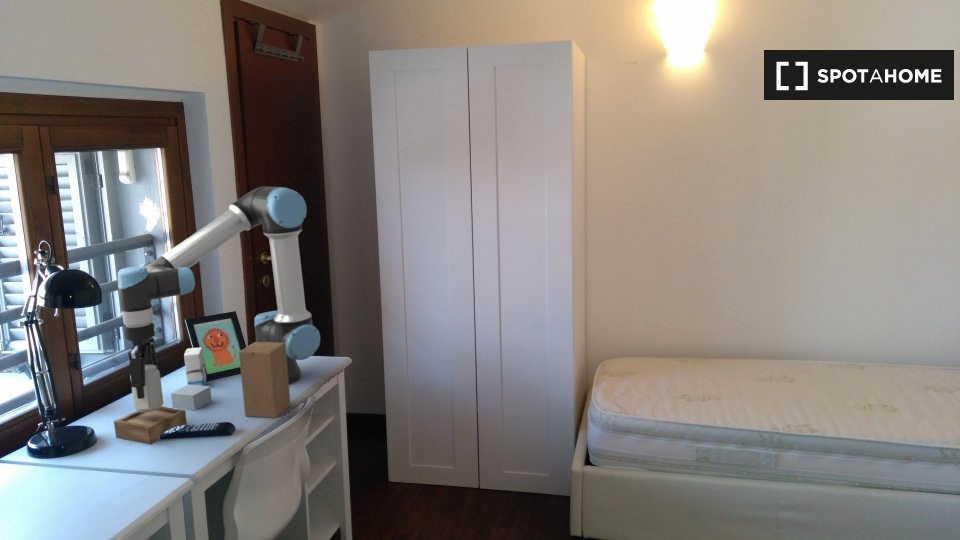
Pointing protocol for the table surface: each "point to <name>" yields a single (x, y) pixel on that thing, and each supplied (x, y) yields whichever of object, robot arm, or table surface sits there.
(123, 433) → the walnut base block
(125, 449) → the table surface
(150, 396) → the can
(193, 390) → the slate painted block
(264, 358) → the wooden block
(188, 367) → the ink box
